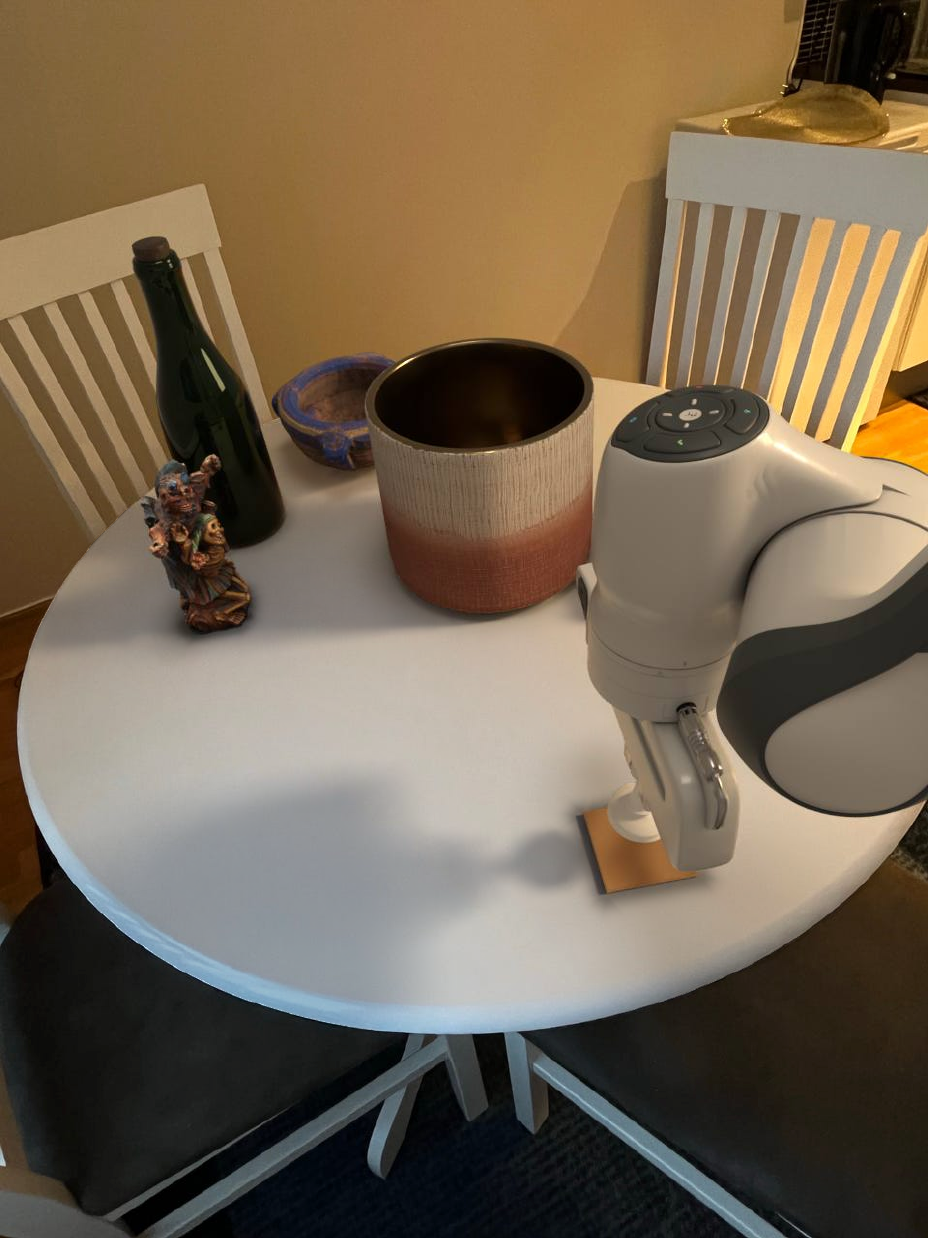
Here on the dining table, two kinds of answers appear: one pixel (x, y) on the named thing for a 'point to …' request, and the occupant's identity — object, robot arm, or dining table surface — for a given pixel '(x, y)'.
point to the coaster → (628, 857)
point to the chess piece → (631, 814)
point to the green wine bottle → (206, 402)
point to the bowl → (331, 410)
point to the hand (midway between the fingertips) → (645, 781)
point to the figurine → (195, 548)
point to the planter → (485, 470)
